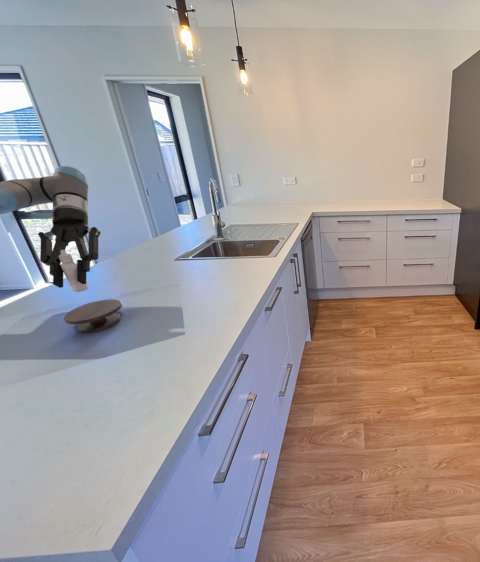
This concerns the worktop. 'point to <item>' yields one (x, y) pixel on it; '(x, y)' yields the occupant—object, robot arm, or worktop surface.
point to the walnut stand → (95, 315)
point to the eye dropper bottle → (71, 272)
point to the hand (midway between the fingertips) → (70, 283)
